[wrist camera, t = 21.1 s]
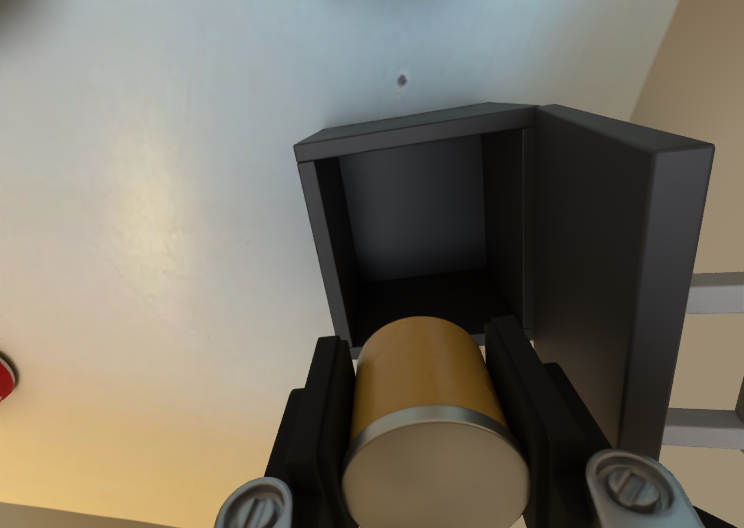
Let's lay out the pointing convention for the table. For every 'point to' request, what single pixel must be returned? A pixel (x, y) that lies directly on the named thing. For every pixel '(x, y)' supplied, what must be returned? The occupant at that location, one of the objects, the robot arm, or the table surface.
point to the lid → (625, 274)
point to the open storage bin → (425, 218)
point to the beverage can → (6, 380)
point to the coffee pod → (430, 434)
